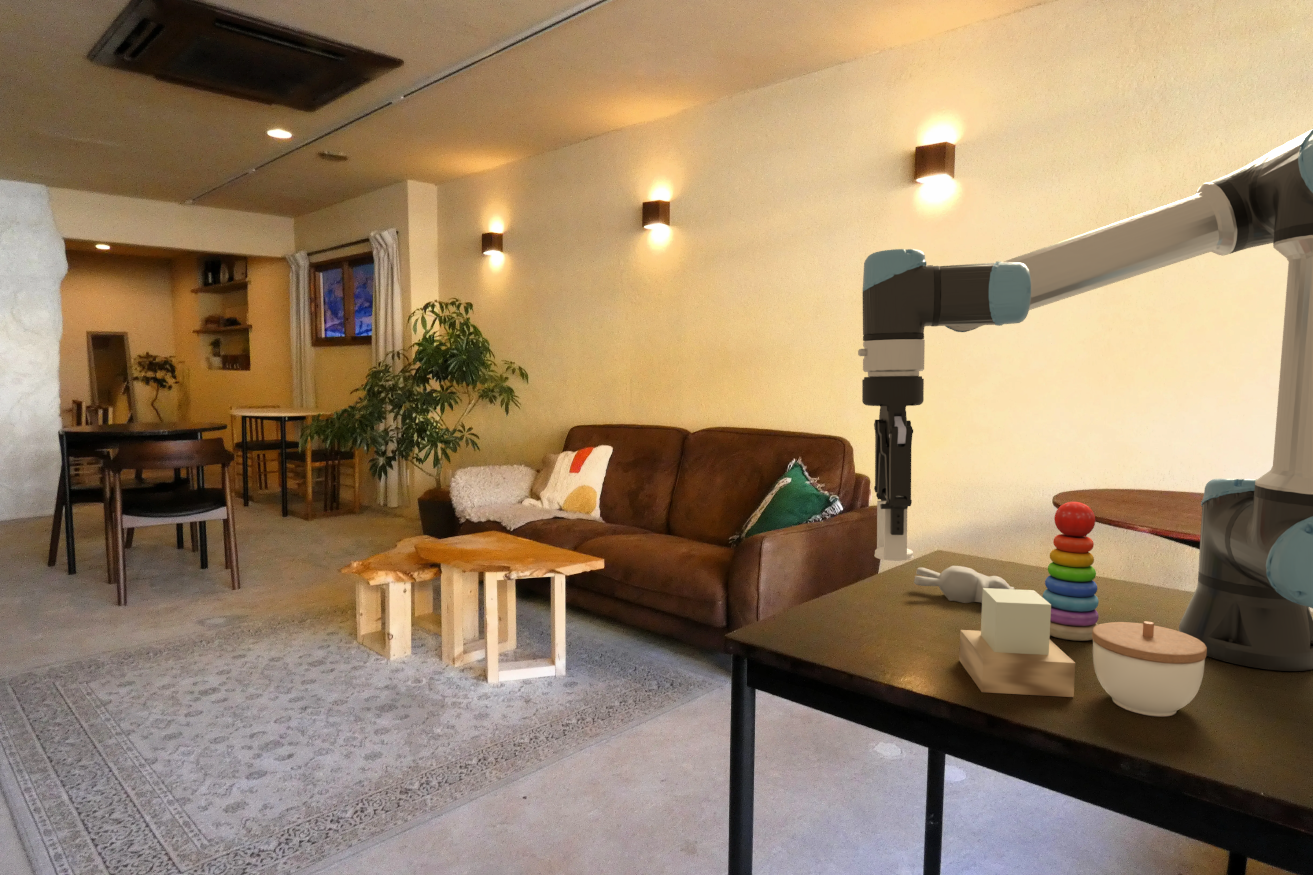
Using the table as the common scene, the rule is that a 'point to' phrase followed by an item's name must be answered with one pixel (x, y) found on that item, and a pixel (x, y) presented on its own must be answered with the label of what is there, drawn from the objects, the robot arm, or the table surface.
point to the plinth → (1016, 669)
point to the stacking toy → (1072, 575)
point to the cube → (1015, 621)
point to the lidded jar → (1148, 666)
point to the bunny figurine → (960, 583)
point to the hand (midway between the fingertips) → (891, 553)
